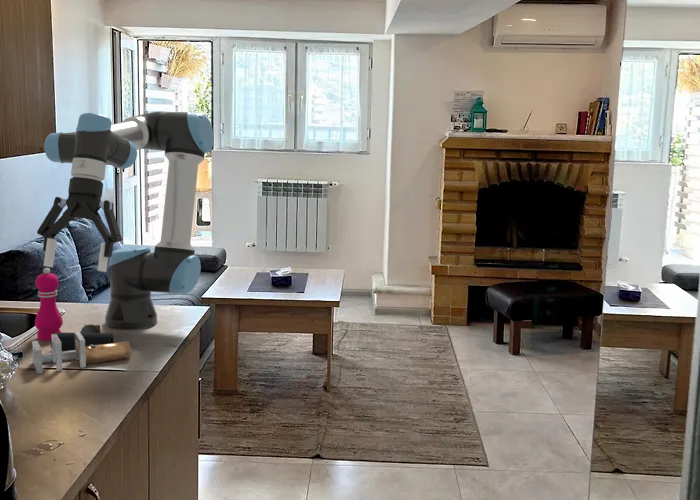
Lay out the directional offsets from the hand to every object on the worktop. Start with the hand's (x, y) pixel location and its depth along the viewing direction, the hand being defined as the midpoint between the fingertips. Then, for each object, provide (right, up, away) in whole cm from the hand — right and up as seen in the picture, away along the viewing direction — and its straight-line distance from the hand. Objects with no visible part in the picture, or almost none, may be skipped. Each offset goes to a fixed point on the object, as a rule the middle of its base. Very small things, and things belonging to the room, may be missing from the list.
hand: (74, 269), depth 172 cm
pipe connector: (-8, -22, +29) cm, 38 cm away
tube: (+1, -24, +18) cm, 30 cm away
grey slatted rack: (-9, -25, +13) cm, 29 cm away
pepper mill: (-20, -20, +36) cm, 46 cm away
